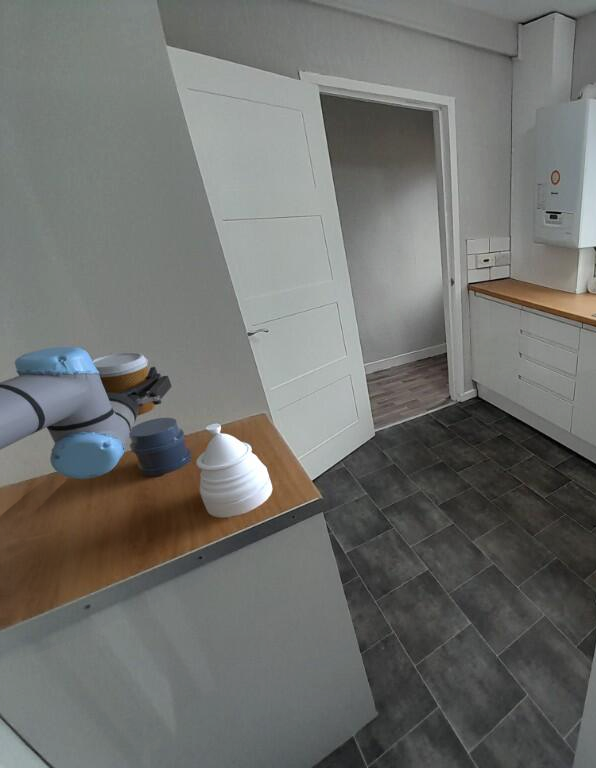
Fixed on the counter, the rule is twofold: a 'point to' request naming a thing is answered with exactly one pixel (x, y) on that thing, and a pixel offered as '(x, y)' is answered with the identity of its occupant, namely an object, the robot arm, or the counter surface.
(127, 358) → the disposable coffee cup
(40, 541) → the counter surface
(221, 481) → the honey pot
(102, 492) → the counter surface
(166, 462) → the cup stack
